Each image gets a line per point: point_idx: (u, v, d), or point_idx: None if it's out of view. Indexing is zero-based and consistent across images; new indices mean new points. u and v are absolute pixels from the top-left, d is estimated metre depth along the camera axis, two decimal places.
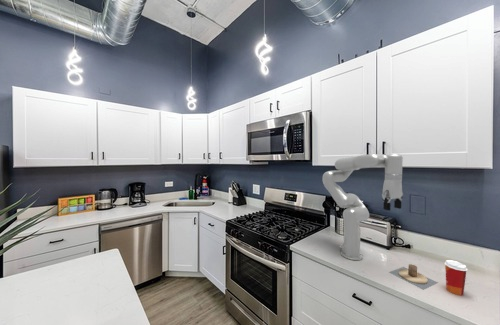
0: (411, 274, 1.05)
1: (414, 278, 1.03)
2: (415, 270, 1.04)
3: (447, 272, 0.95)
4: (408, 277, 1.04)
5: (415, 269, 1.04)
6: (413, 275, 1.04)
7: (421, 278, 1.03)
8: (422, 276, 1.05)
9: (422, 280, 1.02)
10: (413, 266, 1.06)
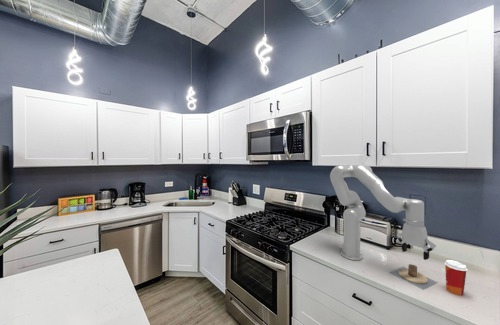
0: (411, 274, 1.05)
1: (414, 278, 1.03)
2: (415, 269, 1.04)
3: (447, 272, 0.95)
4: (408, 277, 1.04)
5: (415, 269, 1.04)
6: (413, 275, 1.04)
7: (421, 278, 1.03)
8: (422, 276, 1.05)
9: (422, 280, 1.02)
10: (413, 266, 1.06)
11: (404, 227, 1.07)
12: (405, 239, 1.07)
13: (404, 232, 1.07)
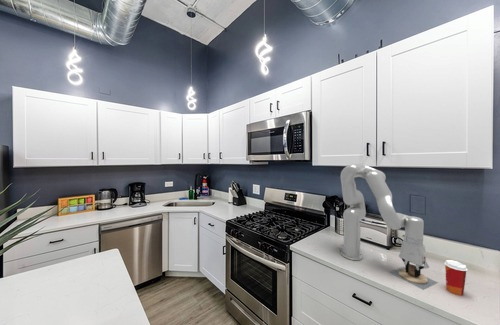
0: (411, 274, 1.05)
1: (414, 278, 1.03)
2: (414, 269, 1.04)
3: (447, 272, 0.95)
4: (408, 277, 1.04)
5: None
6: (413, 275, 1.04)
7: (421, 278, 1.03)
8: (422, 276, 1.05)
9: (422, 280, 1.02)
10: (413, 266, 1.06)
11: (403, 244, 1.08)
12: (403, 256, 1.07)
13: (403, 249, 1.08)
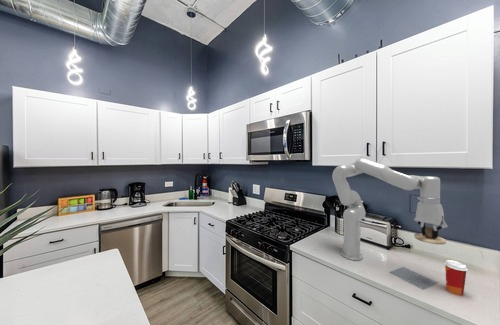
0: (428, 236, 1.00)
1: (431, 240, 0.98)
2: None
3: (447, 272, 0.95)
4: (425, 239, 0.99)
5: (432, 230, 0.99)
6: (430, 237, 1.00)
7: (439, 239, 0.98)
8: (440, 238, 1.00)
9: (440, 241, 0.97)
10: (430, 228, 1.01)
11: (418, 205, 1.03)
12: (419, 218, 1.03)
13: (418, 211, 1.03)
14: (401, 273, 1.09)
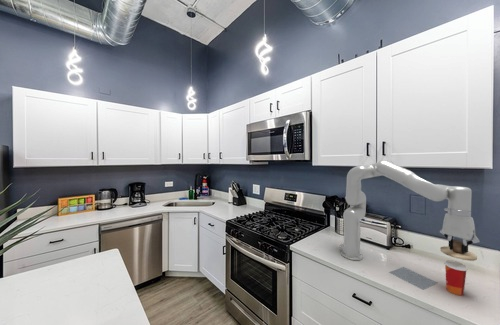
0: (457, 250, 0.93)
1: (461, 255, 0.91)
2: (461, 245, 0.92)
3: (447, 272, 0.95)
4: (454, 254, 0.92)
5: (462, 244, 0.93)
6: (459, 251, 0.93)
7: (469, 255, 0.91)
8: (469, 253, 0.93)
9: (471, 256, 0.90)
10: (459, 241, 0.94)
11: (446, 217, 0.96)
12: (447, 231, 0.96)
13: (446, 223, 0.96)
14: (401, 273, 1.09)
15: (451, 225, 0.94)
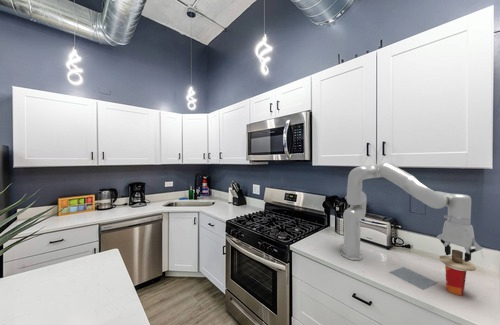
0: (456, 260, 0.94)
1: (460, 265, 0.91)
2: (460, 255, 0.93)
3: (447, 272, 0.95)
4: (453, 263, 0.93)
5: (461, 254, 0.93)
6: (458, 261, 0.93)
7: (468, 265, 0.92)
8: (468, 262, 0.94)
9: (470, 266, 0.90)
10: (458, 251, 0.94)
11: (445, 225, 0.96)
12: (446, 238, 0.96)
13: (445, 230, 0.96)
14: (401, 273, 1.09)
15: (450, 232, 0.95)
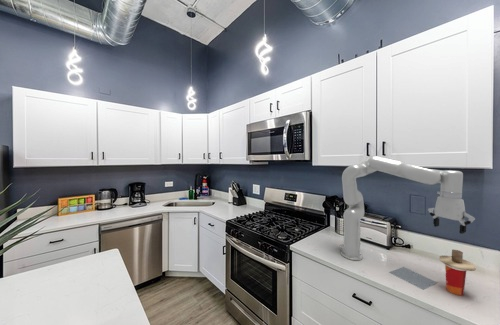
0: (456, 260, 0.94)
1: (460, 265, 0.91)
2: (460, 255, 0.93)
3: (447, 272, 0.95)
4: (453, 263, 0.93)
5: (461, 254, 0.93)
6: (458, 261, 0.93)
7: (468, 265, 0.92)
8: (468, 262, 0.94)
9: (470, 266, 0.90)
10: (458, 251, 0.94)
11: (438, 200, 1.01)
12: (439, 213, 1.00)
13: (438, 205, 1.01)
14: (401, 273, 1.09)
15: (443, 207, 0.99)
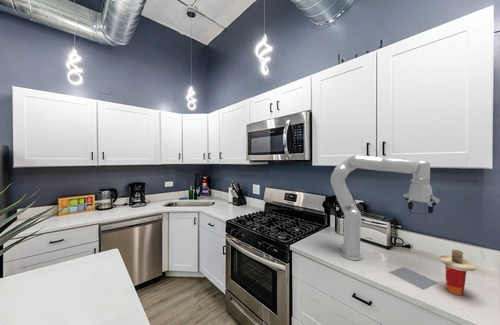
0: (456, 260, 0.94)
1: (460, 265, 0.91)
2: (460, 255, 0.93)
3: (447, 272, 0.95)
4: (453, 263, 0.93)
5: (461, 254, 0.93)
6: (458, 261, 0.93)
7: (468, 265, 0.92)
8: (468, 262, 0.94)
9: (470, 266, 0.90)
10: (458, 251, 0.94)
11: (411, 186, 1.18)
12: (411, 197, 1.18)
13: (411, 191, 1.18)
14: (401, 273, 1.09)
15: (414, 192, 1.16)
